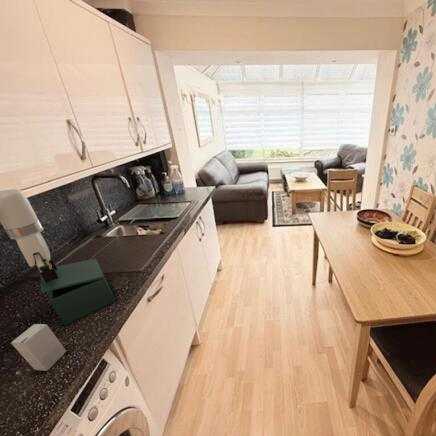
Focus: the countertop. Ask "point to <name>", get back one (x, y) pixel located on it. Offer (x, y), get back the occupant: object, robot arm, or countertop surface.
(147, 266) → the countertop surface
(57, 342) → the cosmetic box
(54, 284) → the lid
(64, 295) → the chest
